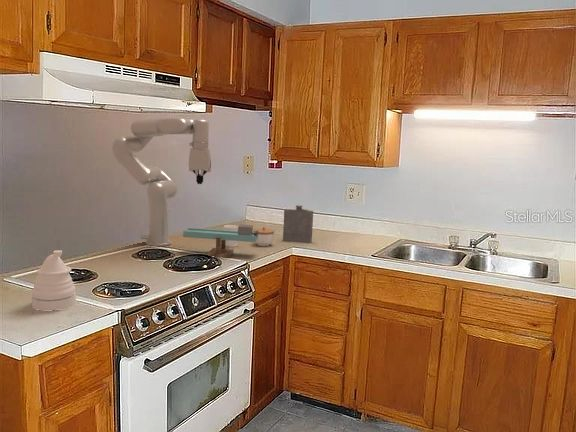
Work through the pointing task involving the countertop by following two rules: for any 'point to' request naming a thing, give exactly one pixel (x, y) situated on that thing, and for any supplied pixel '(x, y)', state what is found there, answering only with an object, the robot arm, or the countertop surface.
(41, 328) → the countertop surface
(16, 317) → the countertop surface
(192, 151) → the robot arm
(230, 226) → the white cup
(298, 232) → the hip flask
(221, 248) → the stand
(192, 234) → the beam
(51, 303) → the honey pot
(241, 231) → the block
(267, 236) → the lidded jar
